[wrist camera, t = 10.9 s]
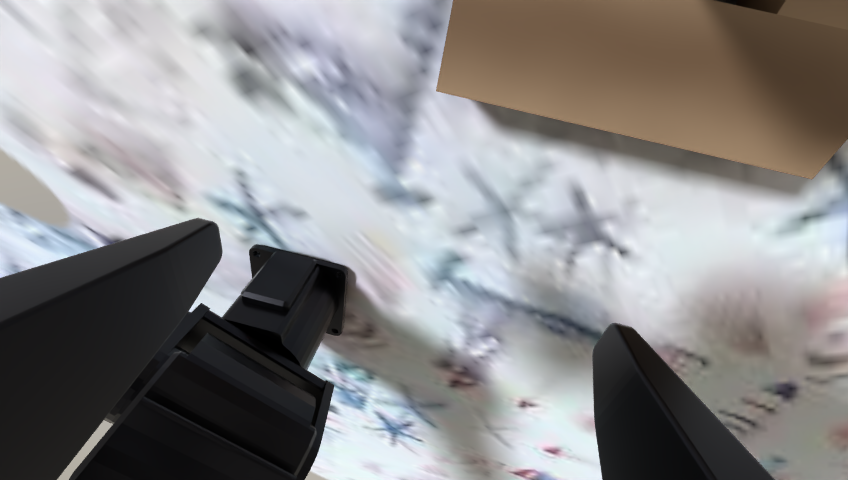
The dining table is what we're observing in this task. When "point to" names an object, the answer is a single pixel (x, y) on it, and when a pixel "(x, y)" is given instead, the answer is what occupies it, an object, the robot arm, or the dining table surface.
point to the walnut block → (666, 71)
